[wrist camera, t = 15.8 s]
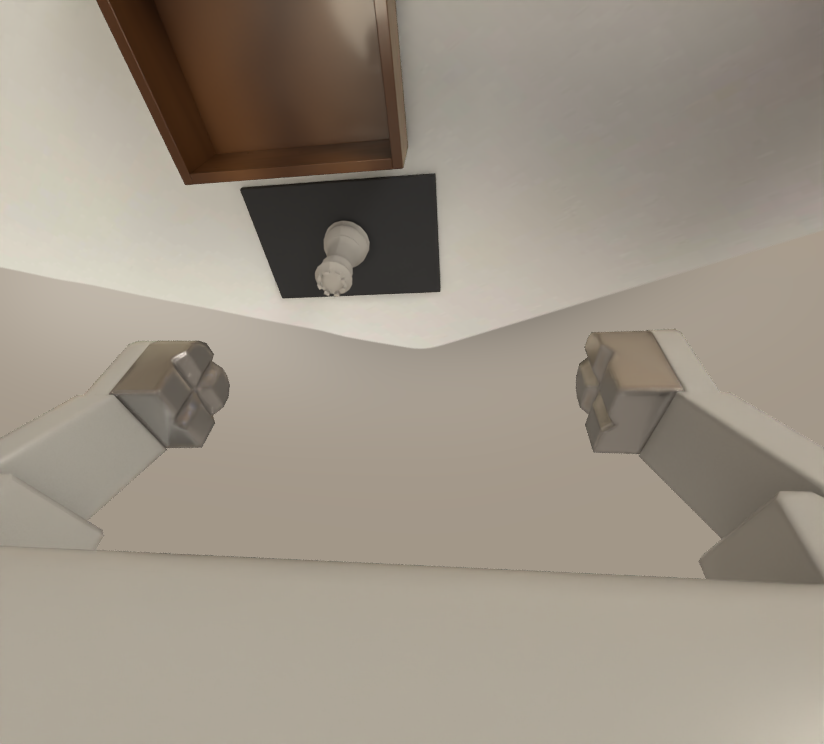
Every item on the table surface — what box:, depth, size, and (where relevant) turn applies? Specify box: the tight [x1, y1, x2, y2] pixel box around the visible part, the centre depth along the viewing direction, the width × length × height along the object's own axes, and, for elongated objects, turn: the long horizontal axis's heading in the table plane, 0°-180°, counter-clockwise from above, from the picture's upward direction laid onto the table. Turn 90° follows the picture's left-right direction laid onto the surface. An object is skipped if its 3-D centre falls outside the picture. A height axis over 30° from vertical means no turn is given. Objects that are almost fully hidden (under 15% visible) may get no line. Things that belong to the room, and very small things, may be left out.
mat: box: [240, 174, 440, 298], centre depth 39 cm, size 18×12×1 cm, turn 95°
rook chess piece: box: [315, 221, 370, 297], centre depth 36 cm, size 4×4×8 cm
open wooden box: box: [96, 0, 408, 185], centre depth 27 cm, size 18×15×5 cm
